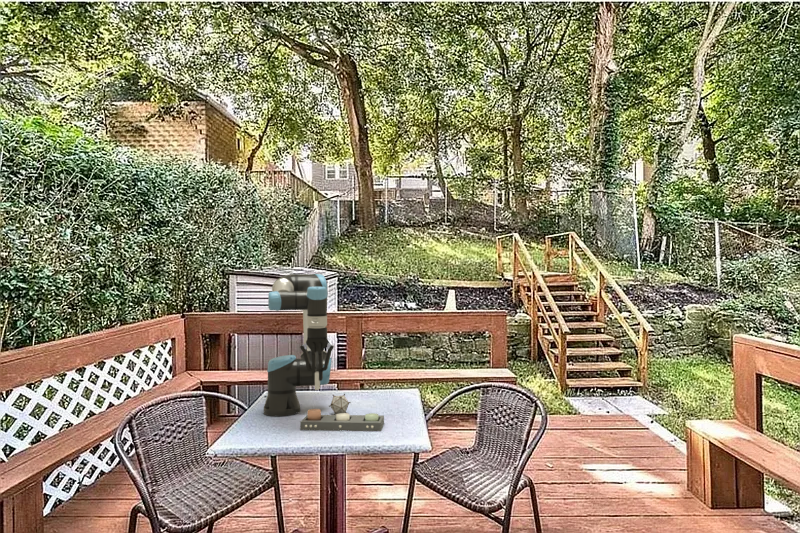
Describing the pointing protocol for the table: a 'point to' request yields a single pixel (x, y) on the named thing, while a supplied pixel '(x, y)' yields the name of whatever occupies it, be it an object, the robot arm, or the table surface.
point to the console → (342, 423)
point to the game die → (339, 404)
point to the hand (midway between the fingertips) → (317, 388)
